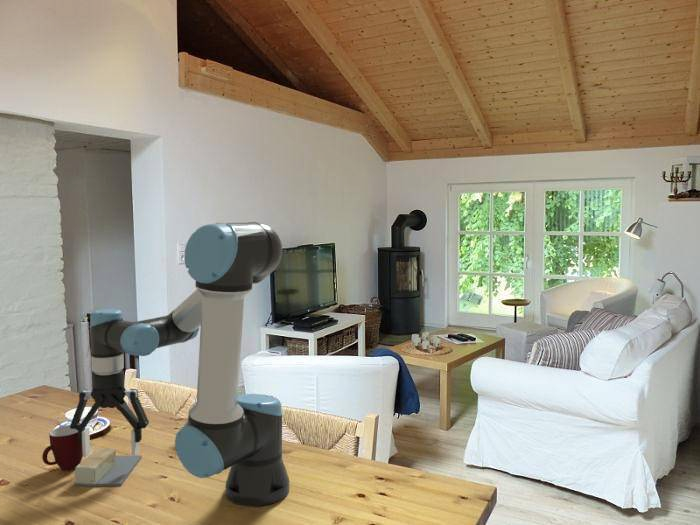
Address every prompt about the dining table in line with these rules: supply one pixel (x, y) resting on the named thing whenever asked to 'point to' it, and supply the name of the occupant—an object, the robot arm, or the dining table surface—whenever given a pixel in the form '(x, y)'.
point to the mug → (64, 448)
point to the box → (95, 466)
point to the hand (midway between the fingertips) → (110, 454)
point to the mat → (117, 471)
